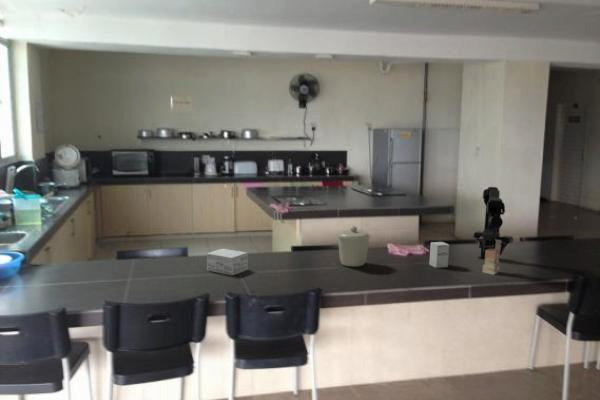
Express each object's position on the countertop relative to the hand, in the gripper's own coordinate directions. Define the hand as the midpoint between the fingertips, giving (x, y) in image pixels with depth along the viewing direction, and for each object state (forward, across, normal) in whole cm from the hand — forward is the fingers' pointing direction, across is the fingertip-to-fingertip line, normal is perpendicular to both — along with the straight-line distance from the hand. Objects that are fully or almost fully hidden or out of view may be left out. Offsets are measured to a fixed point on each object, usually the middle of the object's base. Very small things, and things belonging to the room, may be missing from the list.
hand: (491, 253), depth 268 cm
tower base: (+10, 0, 0) cm, 10 cm away
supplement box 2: (+11, -98, -96) cm, 137 cm away
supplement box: (+10, -25, -9) cm, 28 cm away
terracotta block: (+2, 0, 0) cm, 2 cm away
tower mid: (+6, 0, 0) cm, 6 cm away
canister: (+10, -59, -41) cm, 73 cm away
